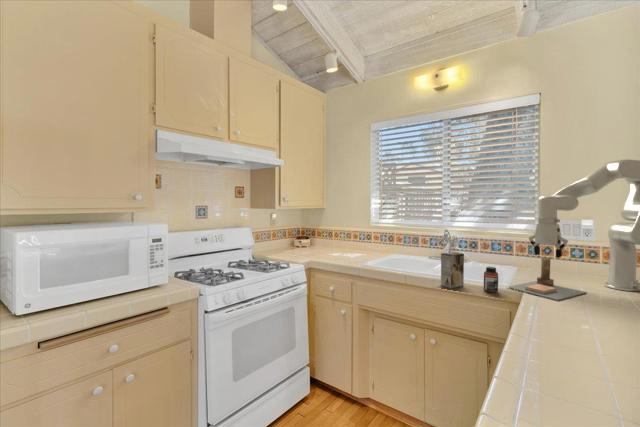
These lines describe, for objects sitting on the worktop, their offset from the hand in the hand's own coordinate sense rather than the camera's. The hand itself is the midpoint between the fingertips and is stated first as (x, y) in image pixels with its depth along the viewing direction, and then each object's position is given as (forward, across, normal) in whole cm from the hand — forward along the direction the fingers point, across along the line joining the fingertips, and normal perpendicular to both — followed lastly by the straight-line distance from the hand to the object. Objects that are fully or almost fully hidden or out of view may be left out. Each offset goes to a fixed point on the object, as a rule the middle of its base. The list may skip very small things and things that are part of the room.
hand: (547, 255), depth 158 cm
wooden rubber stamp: (+14, +1, +1) cm, 14 cm away
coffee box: (+14, +22, +42) cm, 49 cm away
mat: (+15, -4, +10) cm, 18 cm away
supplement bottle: (+14, +7, +34) cm, 37 cm away
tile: (+13, -4, +14) cm, 20 cm away
